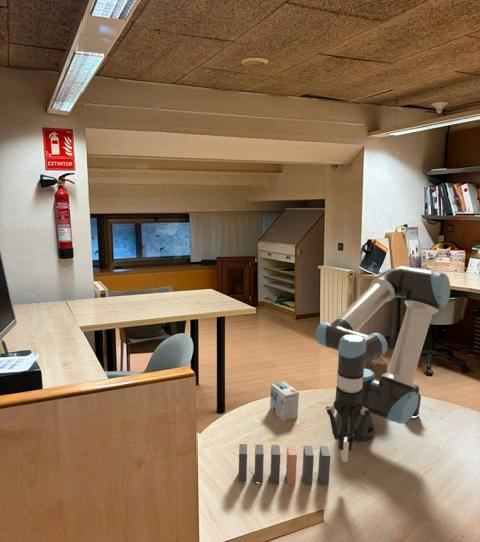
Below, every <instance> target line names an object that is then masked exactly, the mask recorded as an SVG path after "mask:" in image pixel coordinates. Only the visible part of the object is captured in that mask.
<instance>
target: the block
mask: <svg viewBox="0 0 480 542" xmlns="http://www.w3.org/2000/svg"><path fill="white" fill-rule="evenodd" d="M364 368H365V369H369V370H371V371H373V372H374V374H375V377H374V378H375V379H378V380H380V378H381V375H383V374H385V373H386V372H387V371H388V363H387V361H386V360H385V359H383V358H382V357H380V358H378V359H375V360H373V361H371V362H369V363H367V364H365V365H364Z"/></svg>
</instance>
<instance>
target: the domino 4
mask: <svg viewBox="0 0 480 542" xmlns="http://www.w3.org/2000/svg"><path fill="white" fill-rule="evenodd" d="M286 447H287V448H286V449H287V450H286V472H285V475H286V482H287V483H286V484H287V485H296V483H297V481H296V480H297V463H298V460H297V459H298V454H297V449H296V445H295V444H293V445H291V444H290V445H289V444H287V446H286Z"/></svg>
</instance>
